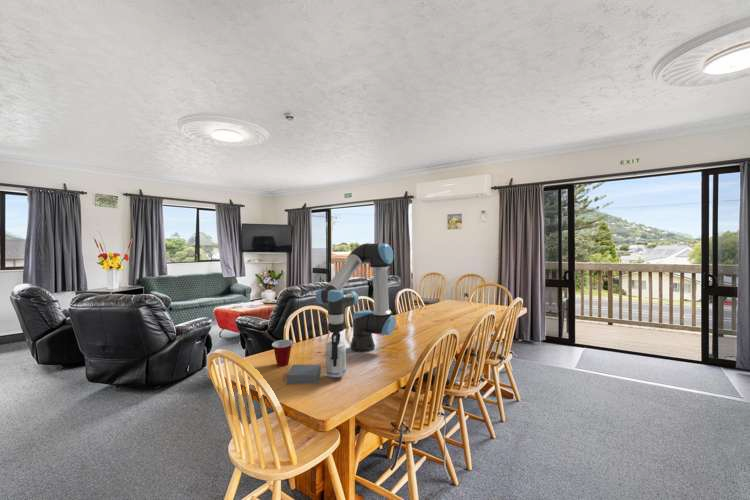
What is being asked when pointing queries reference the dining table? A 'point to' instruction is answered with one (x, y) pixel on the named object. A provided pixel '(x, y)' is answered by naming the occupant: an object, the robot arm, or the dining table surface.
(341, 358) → the supplement tub
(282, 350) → the plastic cup
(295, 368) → the plinth
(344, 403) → the dining table surface
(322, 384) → the dining table surface
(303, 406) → the dining table surface
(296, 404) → the dining table surface
